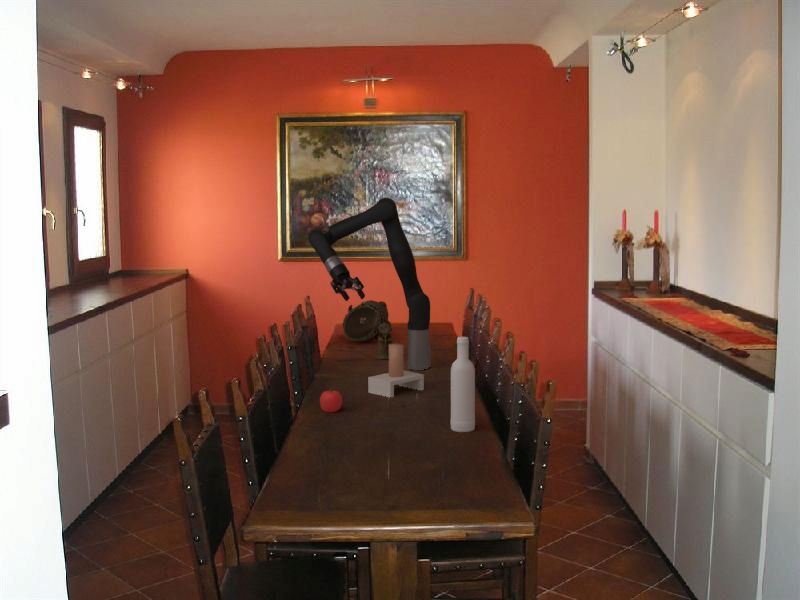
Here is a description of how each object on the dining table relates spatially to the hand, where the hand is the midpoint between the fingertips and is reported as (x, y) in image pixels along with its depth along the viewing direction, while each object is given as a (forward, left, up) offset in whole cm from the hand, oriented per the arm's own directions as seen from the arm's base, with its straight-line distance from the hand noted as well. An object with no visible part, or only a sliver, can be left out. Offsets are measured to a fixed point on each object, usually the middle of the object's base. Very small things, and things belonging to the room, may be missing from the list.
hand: (355, 298), depth 364 cm
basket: (-66, -65, -33) cm, 98 cm away
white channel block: (+7, +30, -33) cm, 45 cm away
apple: (+44, +35, -33) cm, 65 cm away
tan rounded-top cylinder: (+7, +30, -26) cm, 41 cm away
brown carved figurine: (-35, -20, -33) cm, 52 cm away
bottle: (+30, +84, -33) cm, 95 cm away
